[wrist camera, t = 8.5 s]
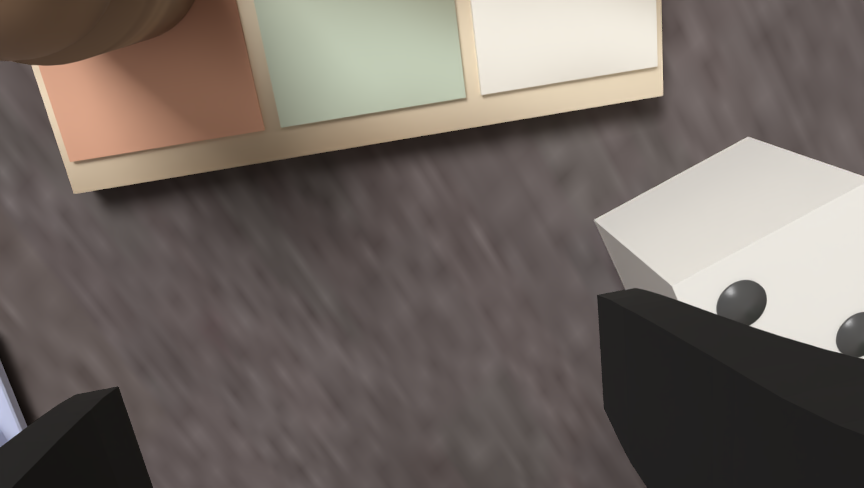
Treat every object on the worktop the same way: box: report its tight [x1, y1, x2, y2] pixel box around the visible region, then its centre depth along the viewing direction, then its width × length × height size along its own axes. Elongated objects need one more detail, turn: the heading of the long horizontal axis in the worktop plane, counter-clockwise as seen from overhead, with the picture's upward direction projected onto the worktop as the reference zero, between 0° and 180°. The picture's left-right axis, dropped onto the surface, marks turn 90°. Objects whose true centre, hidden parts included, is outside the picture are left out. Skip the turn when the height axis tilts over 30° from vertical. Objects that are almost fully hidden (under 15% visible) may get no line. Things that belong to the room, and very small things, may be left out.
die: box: [594, 137, 864, 359], centre depth 19 cm, size 5×5×5 cm
